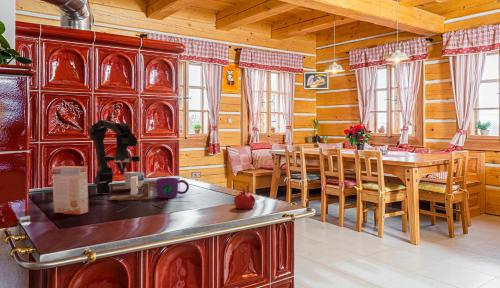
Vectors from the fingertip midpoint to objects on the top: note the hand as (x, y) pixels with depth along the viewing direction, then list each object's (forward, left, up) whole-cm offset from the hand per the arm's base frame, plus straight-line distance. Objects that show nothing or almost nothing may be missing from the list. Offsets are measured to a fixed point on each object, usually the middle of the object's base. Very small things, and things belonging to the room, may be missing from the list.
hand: (122, 174), depth 214 cm
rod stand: (+4, -4, -13) cm, 14 cm away
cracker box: (-17, -37, -13) cm, 43 cm away
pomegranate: (+60, -45, -13) cm, 76 cm away
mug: (+27, -5, -13) cm, 30 cm away
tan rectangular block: (+7, -4, -10) cm, 13 cm away
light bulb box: (+3, +29, -13) cm, 32 cm away
